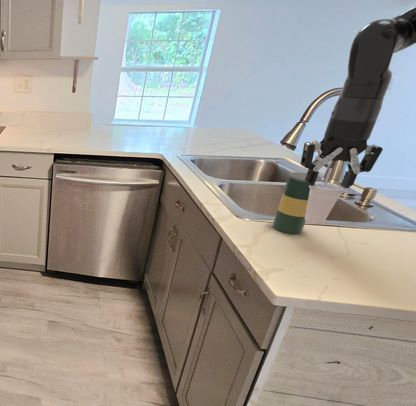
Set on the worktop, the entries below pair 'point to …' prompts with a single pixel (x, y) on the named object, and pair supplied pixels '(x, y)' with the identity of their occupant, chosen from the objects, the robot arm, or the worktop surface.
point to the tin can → (293, 204)
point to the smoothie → (322, 200)
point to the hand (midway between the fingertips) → (327, 185)
